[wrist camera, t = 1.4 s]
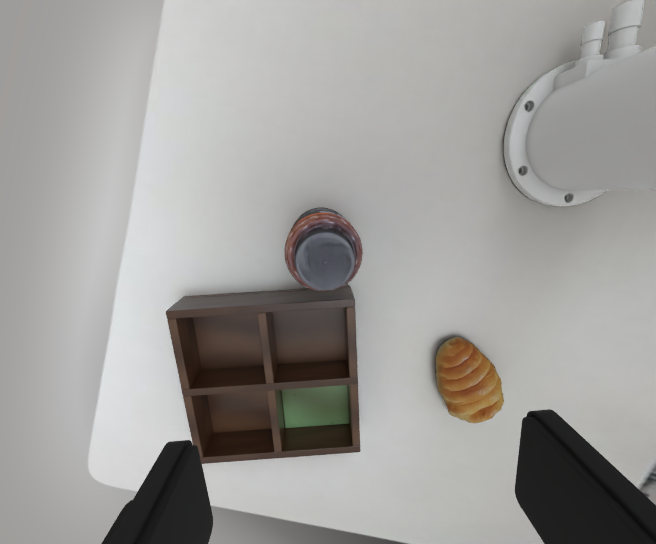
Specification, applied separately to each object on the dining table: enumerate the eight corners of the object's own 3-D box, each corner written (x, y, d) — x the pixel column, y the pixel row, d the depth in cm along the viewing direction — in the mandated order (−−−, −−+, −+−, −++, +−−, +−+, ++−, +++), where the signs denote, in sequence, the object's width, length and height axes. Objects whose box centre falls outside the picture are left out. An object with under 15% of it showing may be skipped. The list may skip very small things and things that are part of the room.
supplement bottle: (306, 274, 33) (301, 318, 22) (281, 221, 31) (262, 239, 20) (359, 252, 32) (381, 285, 21) (337, 197, 31) (348, 202, 20)
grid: (183, 296, 33) (165, 311, 29) (350, 285, 33) (354, 298, 29) (209, 434, 37) (196, 464, 33) (355, 424, 38) (360, 452, 34)
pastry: (417, 350, 35) (429, 368, 31) (472, 323, 35) (491, 339, 31) (447, 412, 37) (462, 436, 34) (500, 388, 37) (521, 410, 33)
